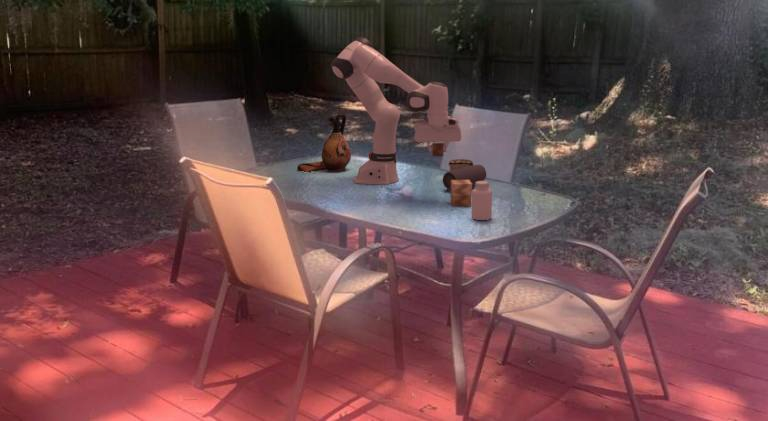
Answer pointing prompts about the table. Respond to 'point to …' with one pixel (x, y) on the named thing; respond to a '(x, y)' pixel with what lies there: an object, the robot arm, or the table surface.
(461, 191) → the tower top
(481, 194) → the pill bottle
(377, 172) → the robot arm
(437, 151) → the walnut block
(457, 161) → the brown half-round wedge
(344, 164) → the ceramic jug
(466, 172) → the bluetooth speaker
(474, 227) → the table surface
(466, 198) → the block
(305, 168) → the sunglasses case
